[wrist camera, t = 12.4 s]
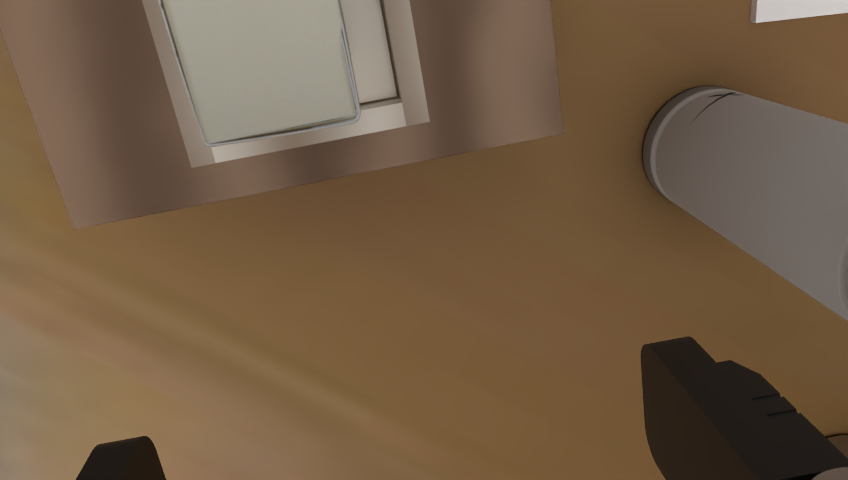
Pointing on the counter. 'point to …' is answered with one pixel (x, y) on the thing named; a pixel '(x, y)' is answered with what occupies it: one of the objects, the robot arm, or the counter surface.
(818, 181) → the travel mug
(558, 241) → the counter surface
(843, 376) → the counter surface
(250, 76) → the skincare box
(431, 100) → the display stand
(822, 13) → the photo frame
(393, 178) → the counter surface
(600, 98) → the counter surface
